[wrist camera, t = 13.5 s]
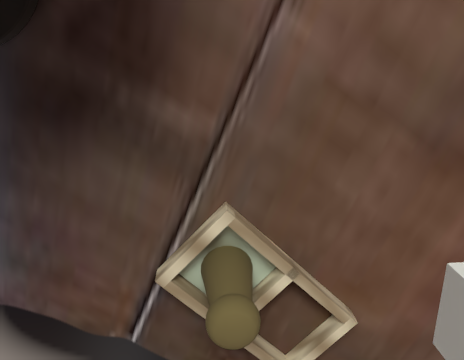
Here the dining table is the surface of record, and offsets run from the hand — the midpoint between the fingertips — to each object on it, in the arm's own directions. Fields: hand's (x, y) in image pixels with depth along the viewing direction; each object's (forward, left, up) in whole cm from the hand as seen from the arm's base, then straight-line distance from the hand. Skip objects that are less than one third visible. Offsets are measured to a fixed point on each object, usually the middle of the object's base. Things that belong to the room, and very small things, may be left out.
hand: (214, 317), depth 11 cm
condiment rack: (+19, -11, -32) cm, 39 cm away
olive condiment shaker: (+14, -11, -32) cm, 36 cm away
